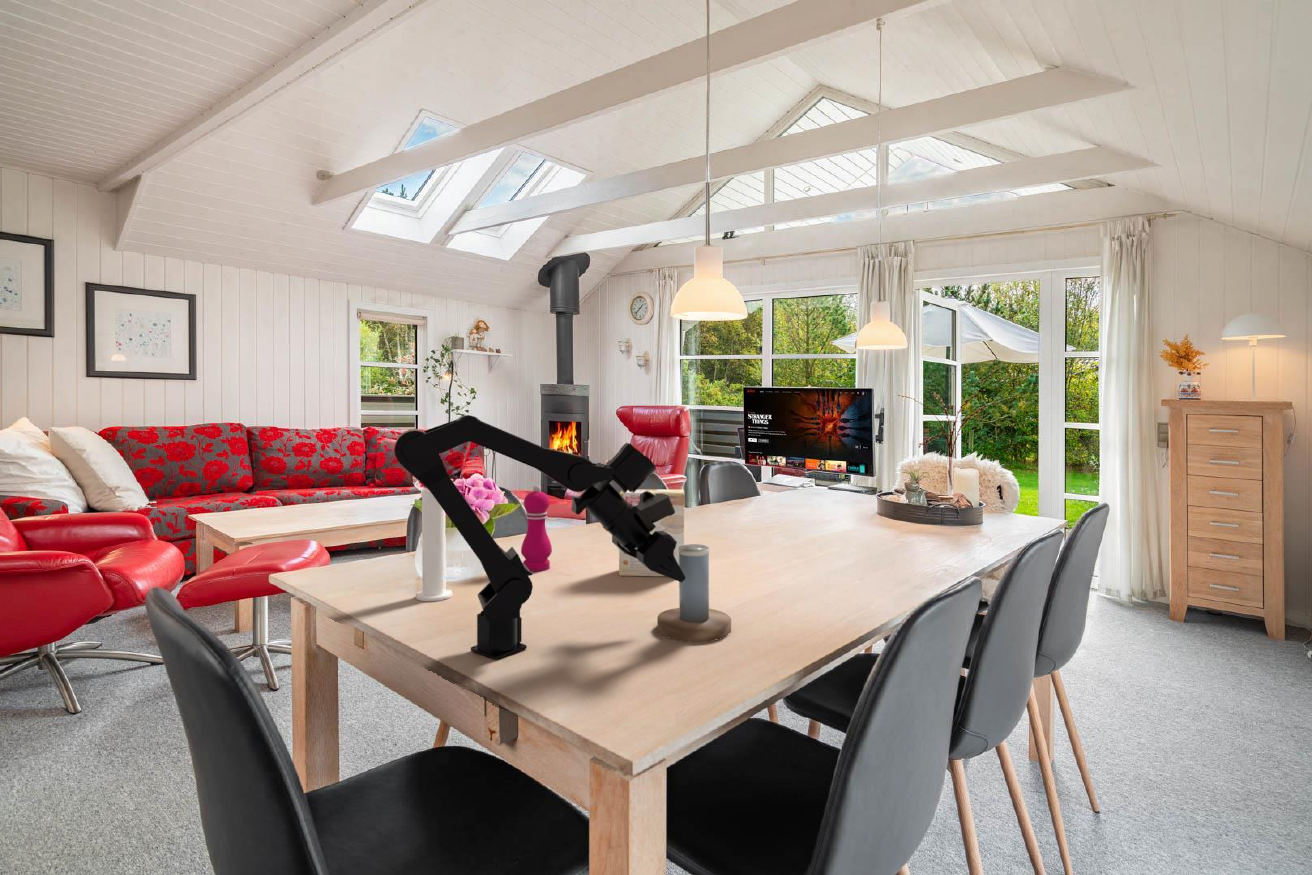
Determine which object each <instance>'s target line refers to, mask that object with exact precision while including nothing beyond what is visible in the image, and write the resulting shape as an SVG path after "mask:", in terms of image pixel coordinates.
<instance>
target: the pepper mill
mask: <svg viewBox="0 0 1312 875" xmlns="http://www.w3.org/2000/svg"><path fill="white" fill-rule="evenodd" d="M541 489H542V488H541V486H540V485H537V484H535V485H534V486H533V487H532V490H533V491H531V492H529V493H528V494H526V495H525V497H524V498H523V499H524V500H523V505H524V508H525V509H526V511H525V512H526V513H525V515H526V516H525V518H526V519H527V530H526V535H525V536H524V539H523V541H522V544H521V547H520V548H521V549H520V553H521V555H522V556H523V558H525V559H524V560H523V561H522V563H524V564H525V565H526V566H527V568H528V569H529V570H530V572H541V571H540V570H544V571H546V570H545V569H547V570H549V569H550V566H551V561H550V559H548V558H549V557H550V556H551V554H552V551H553V550H552V549H553V548H552V543H551V541H550V538H549V536H548V533H547V528H546V519H547V518H548V511H547V509H548V508H549V507H550V498H549V496H548V495H547V494H546V493H545V492H543V491H541Z"/></svg>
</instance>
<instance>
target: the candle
mask: <svg viewBox="0 0 1312 875" xmlns="http://www.w3.org/2000/svg"><path fill="white" fill-rule="evenodd" d="M446 536H447V535H446V513H445V511H444V510H443V509H442V507H441V506H440V504H439V503H438V502H437V500H436V499H435V498H434V496H433V495H432V493H431V492H430V491H429V490H428V489H427V488H426V487H425V488H423V490H422V491H421V542H422V543H421V546H422V547H421V551H422V552H421V554H422V555H421V556H422V557H421V559H422V560H421V564H422V565H421V566H422V571H421V572H422V575H421V576H422V577H421V579H422V584H421V585H422V589H421V590H420V591H418V592H416V594H415V599H416V600H418V601H420V602H439V601H445V600H447V599H451V597H453V591H452V590H451V589H448V588H447V586H446V585H447V582H446V581H447V576H446V574H447V573H446V572H447V569H446V567H447V566H446V564H447V563H446V560H447V558H446V552H447V551H446V546H447V545H446ZM444 599H445V600H444Z"/></svg>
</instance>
